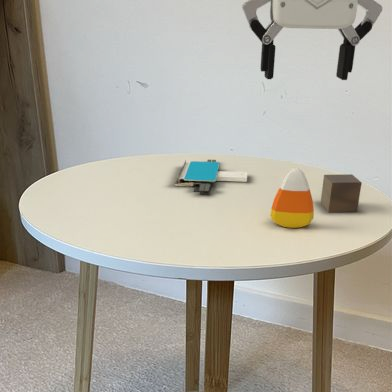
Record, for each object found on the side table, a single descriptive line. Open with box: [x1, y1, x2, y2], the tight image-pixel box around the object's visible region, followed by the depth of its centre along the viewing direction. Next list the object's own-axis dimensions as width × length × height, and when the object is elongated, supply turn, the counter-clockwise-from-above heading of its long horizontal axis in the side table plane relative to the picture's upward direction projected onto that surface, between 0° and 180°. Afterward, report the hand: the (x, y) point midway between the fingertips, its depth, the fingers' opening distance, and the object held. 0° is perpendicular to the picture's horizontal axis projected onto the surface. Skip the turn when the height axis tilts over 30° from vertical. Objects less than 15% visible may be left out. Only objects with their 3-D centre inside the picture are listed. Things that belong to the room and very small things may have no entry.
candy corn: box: [269, 167, 315, 229], centre depth 82 cm, size 6×3×8 cm, turn 81°
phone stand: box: [174, 159, 248, 196], centre depth 103 cm, size 20×12×2 cm, turn 175°
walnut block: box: [320, 173, 363, 213], centre depth 90 cm, size 4×4×4 cm
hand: (305, 78), depth 78 cm, fingers open, 9 cm apart
